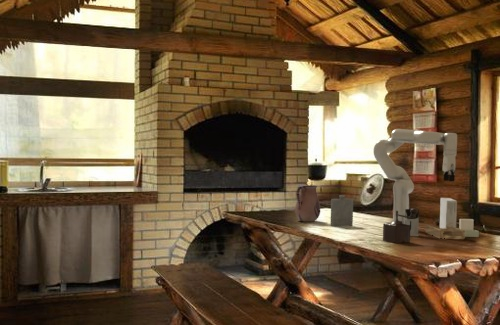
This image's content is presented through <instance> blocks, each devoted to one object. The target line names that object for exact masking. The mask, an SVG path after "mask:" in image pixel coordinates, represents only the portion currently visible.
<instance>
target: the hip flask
mask: <svg viewBox="0 0 500 325" xmlns="http://www.w3.org/2000/svg"><path fill="white" fill-rule="evenodd" d="M338 197H339V198H331V200H330V224H329V226H330V227H353V224H354V223H353V222H354V218H353V217H354V199H353V198H345V197H346V195H340V194H339V196H338Z"/></svg>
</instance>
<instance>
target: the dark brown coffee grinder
mask: <svg viewBox="0 0 500 325" xmlns="http://www.w3.org/2000/svg"><path fill="white" fill-rule="evenodd" d="M410 209H411V210H410V212H411V215H410V216H404V215H399V214H398V211H396V221H393V220H392V221H393V222H392V221H390V222H391V223H386V222H385V223H386V224H385V223H383V226H382V227H383V228H382V241H383V242H388V243H392V244H404V243H411V236H410V225H407V224H404V223H403V222H402V221H398V216H401V217H406V218H413V217H415V215H416V214H417V212H418V211H417V210H418V209H416V208H410Z"/></svg>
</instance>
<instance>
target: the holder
mask: <svg viewBox="0 0 500 325" xmlns="http://www.w3.org/2000/svg"><path fill="white" fill-rule="evenodd" d="M469 237H470V238H479V237H480V230H476V229H473V231H465V238H469Z"/></svg>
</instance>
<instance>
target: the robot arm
mask: <svg viewBox="0 0 500 325" xmlns="http://www.w3.org/2000/svg"><path fill="white" fill-rule="evenodd" d="M390 135H391V137H390V138H389V139H380V140H378V141H377V142H376V143H375V145H374V146H373V155H374V158H375V160H376V162H377V163H378V165H379V166H380V168H381V170H382V171H383V173H384V175H385V176H386V177H387V178H388V180H391V181H394V183H393V185H392V193H393V210H392V212H393V213H392V214H393V215H392V218H393V219H392V220H391V221H389V222H387V221H385V223H384V224H386V223H391V222H393V221H396V211H398V214H399V215H402V214H403V213H404V212H405V209H410V197H409V196H410V195H409V194H411V193H412V192H414V189H415V185H414V182H413V181H412V179H411V177H410V176H409V175H408V173H407V171H406V170H405V168H403V167H402V166H400V165H396V164H395V162H394V161H393V159H392V158H391V156H390V155H389V154H391V153H393V152H395V151H396V150H397V149H399V148H400V147H401V146H403V145H404V144H405V143H407V144H426V145H428V144H430V145H437V146H441V145H442V146H443V159H442V160H443V162H442V172H443V181H444V182H455V176H456V174H455V173H456V164H457V163H456V156H457V152H458V151H457V150H458V148H457V147H458V146H457V145H458V134H457V133H455V132H446V133H443V132H437V131H426V130H425V131H424V130H419V129H418V130H417V129H406V128H405V129H404V128H396V129H393V130H392V131H391V133H390ZM403 215H404V216H405V213H404V214H403ZM398 221H402V217H401V216H398ZM403 222H404V224H405V217H403Z"/></svg>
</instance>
